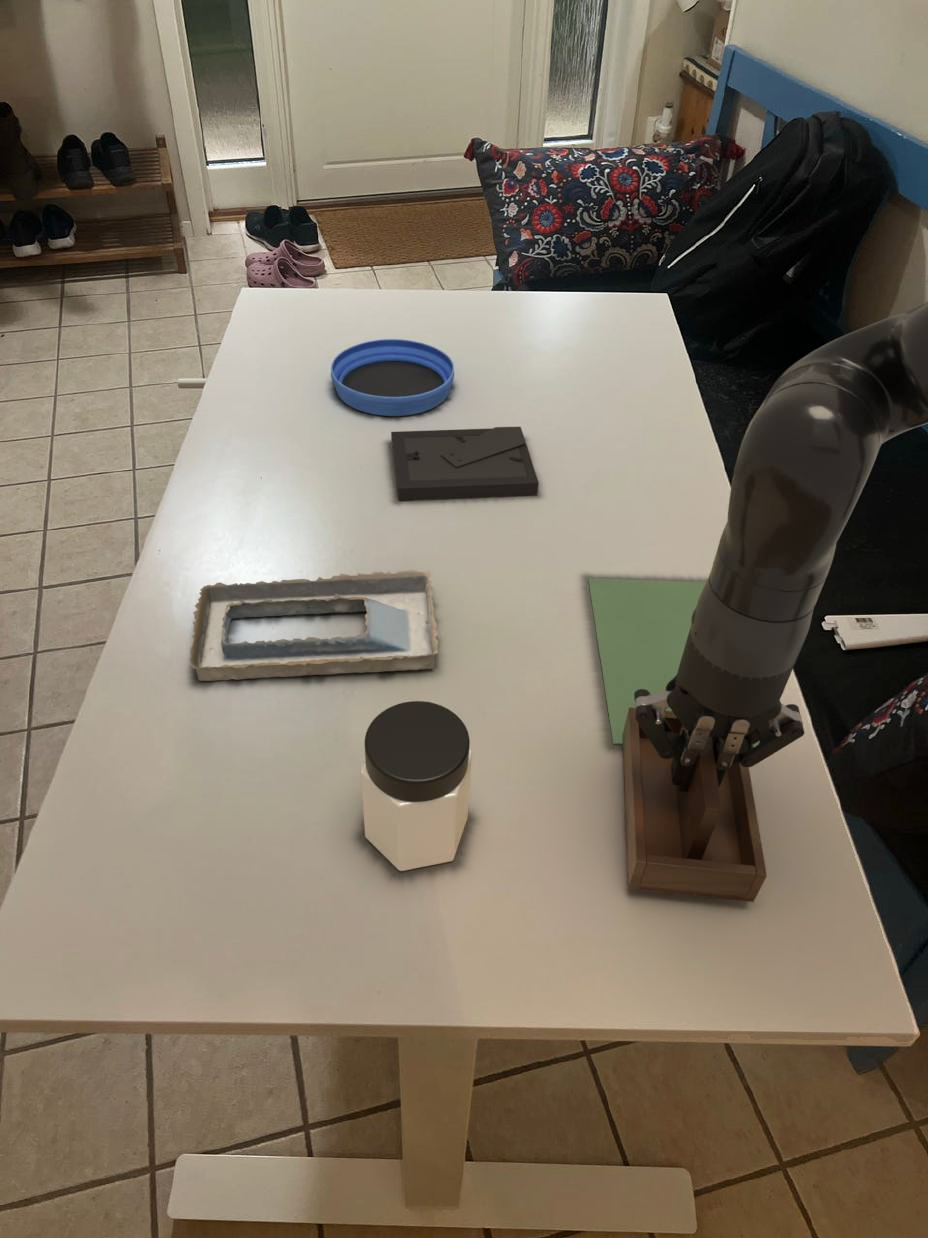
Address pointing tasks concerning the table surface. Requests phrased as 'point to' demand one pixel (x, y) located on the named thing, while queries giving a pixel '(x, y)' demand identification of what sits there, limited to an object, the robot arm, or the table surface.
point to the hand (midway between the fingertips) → (692, 784)
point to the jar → (416, 783)
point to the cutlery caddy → (689, 823)
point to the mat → (640, 638)
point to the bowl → (392, 377)
